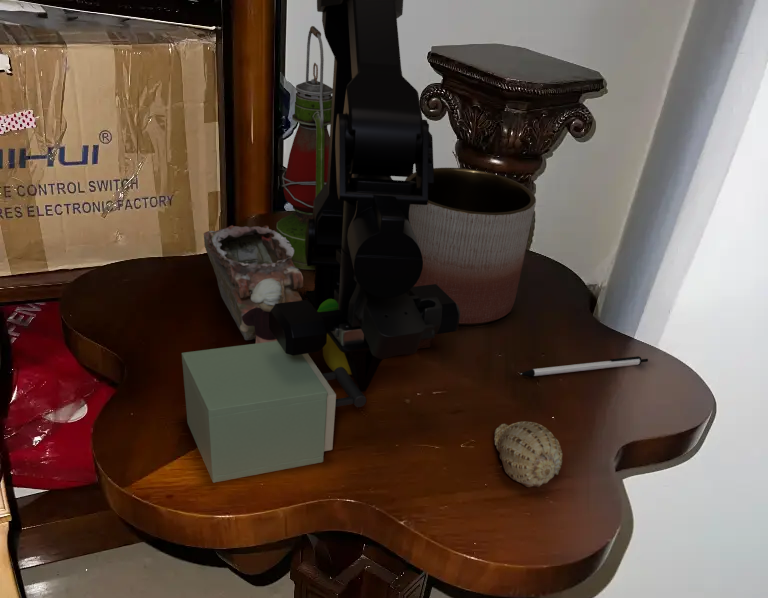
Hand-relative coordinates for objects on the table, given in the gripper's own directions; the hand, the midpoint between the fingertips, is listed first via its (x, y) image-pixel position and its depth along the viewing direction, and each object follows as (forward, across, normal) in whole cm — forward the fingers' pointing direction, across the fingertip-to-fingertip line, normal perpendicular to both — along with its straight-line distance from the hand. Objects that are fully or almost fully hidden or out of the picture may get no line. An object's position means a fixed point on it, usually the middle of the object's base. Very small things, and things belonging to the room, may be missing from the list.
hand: (360, 390), depth 83 cm
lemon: (+5, +2, +10) cm, 11 cm away
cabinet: (+4, -12, 0) cm, 13 cm away
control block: (+5, +13, +18) cm, 23 cm away
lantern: (+5, +10, +44) cm, 45 cm away
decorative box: (+5, -5, +29) cm, 30 cm away
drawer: (+3, -8, 0) cm, 9 cm away
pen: (+5, +33, +3) cm, 34 cm away
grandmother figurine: (+5, -7, +11) cm, 14 cm away
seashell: (+5, +14, -12) cm, 19 cm away
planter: (+5, +25, +25) cm, 36 cm away
